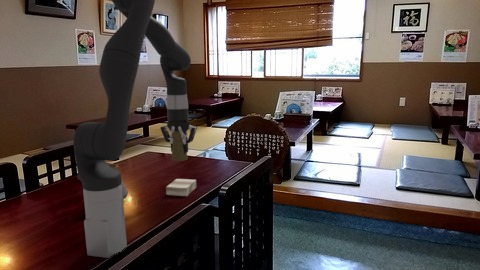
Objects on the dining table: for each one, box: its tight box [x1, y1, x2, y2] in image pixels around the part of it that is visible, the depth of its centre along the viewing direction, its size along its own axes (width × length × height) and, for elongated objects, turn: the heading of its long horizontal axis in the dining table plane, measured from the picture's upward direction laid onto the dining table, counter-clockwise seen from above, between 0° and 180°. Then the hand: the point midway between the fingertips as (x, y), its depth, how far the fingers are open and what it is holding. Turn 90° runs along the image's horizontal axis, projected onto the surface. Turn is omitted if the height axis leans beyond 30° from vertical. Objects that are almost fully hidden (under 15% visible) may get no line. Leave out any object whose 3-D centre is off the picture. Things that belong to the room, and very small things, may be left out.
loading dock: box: [165, 178, 197, 197], centre depth 137 cm, size 10×8×3 cm
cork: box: [171, 131, 189, 162], centre depth 134 cm, size 6×6×11 cm
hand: (179, 153), depth 135 cm, fingers closed on cork, 3 cm apart
